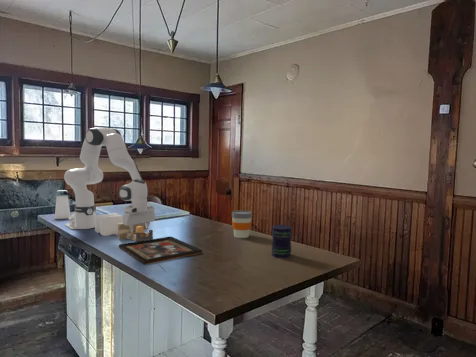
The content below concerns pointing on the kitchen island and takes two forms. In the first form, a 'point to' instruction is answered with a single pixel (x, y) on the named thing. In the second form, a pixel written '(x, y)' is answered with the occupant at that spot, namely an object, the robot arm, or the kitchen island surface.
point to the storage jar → (281, 241)
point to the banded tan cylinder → (140, 230)
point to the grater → (62, 207)
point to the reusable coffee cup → (241, 223)
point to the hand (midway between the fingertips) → (139, 230)
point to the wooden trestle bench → (126, 233)
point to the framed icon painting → (159, 249)
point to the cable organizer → (108, 223)
